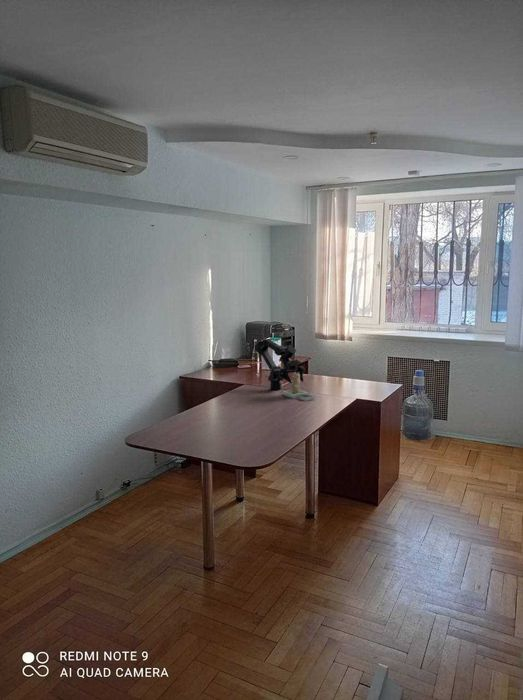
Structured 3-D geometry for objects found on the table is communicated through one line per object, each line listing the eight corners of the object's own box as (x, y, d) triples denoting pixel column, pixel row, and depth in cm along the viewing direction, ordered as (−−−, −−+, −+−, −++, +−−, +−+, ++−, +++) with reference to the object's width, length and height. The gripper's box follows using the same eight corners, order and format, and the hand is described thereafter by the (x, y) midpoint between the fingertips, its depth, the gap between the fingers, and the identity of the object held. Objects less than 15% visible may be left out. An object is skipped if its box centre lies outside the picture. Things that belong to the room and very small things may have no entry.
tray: (282, 395, 330) (282, 391, 330) (297, 393, 336) (297, 389, 336) (293, 398, 320) (293, 394, 320) (308, 396, 327) (308, 392, 326)
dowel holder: (297, 398, 320) (297, 395, 320) (307, 397, 324) (307, 394, 324) (304, 401, 314) (304, 397, 314) (314, 399, 318) (314, 396, 318)
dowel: (290, 394, 327) (290, 374, 325) (293, 392, 332) (293, 373, 330) (297, 395, 325) (298, 375, 323) (300, 393, 330) (301, 373, 328)
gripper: (280, 356, 323) (290, 376, 316) (304, 354, 333) (314, 373, 325) (273, 366, 331) (282, 386, 323) (296, 364, 341) (306, 383, 333)
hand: (297, 382), depth 326 cm, fingers open, 9 cm apart
